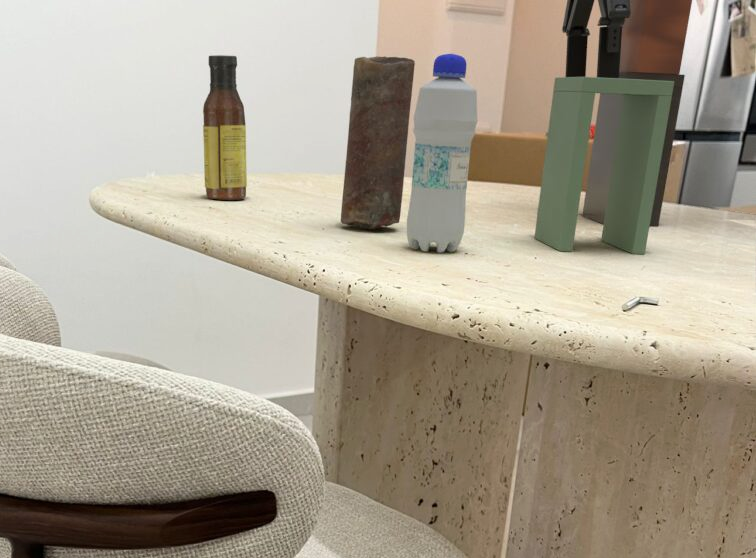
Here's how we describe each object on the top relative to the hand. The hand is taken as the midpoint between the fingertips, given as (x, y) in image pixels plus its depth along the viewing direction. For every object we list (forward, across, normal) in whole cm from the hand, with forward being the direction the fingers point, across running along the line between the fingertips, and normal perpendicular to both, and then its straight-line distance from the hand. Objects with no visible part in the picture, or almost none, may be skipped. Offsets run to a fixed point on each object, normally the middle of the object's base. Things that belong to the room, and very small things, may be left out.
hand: (590, 83), depth 130 cm
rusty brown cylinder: (+17, +18, -33) cm, 41 cm away
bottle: (+18, +32, -27) cm, 46 cm away
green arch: (+19, +25, -8) cm, 32 cm away
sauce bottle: (+14, -9, -52) cm, 54 cm away
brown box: (-1, -4, +7) cm, 9 cm away
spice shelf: (+19, -1, +6) cm, 20 cm away
